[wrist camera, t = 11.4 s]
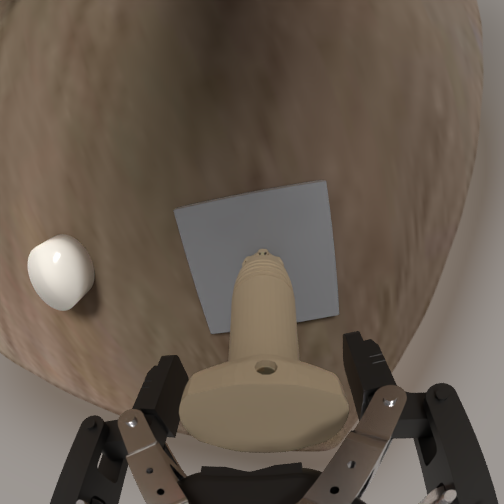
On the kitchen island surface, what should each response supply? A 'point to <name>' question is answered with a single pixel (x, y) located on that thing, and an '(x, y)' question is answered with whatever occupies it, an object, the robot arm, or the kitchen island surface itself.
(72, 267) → the white dome knob
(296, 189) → the coaster
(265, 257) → the handle
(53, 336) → the kitchen island surface
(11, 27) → the kitchen island surface
